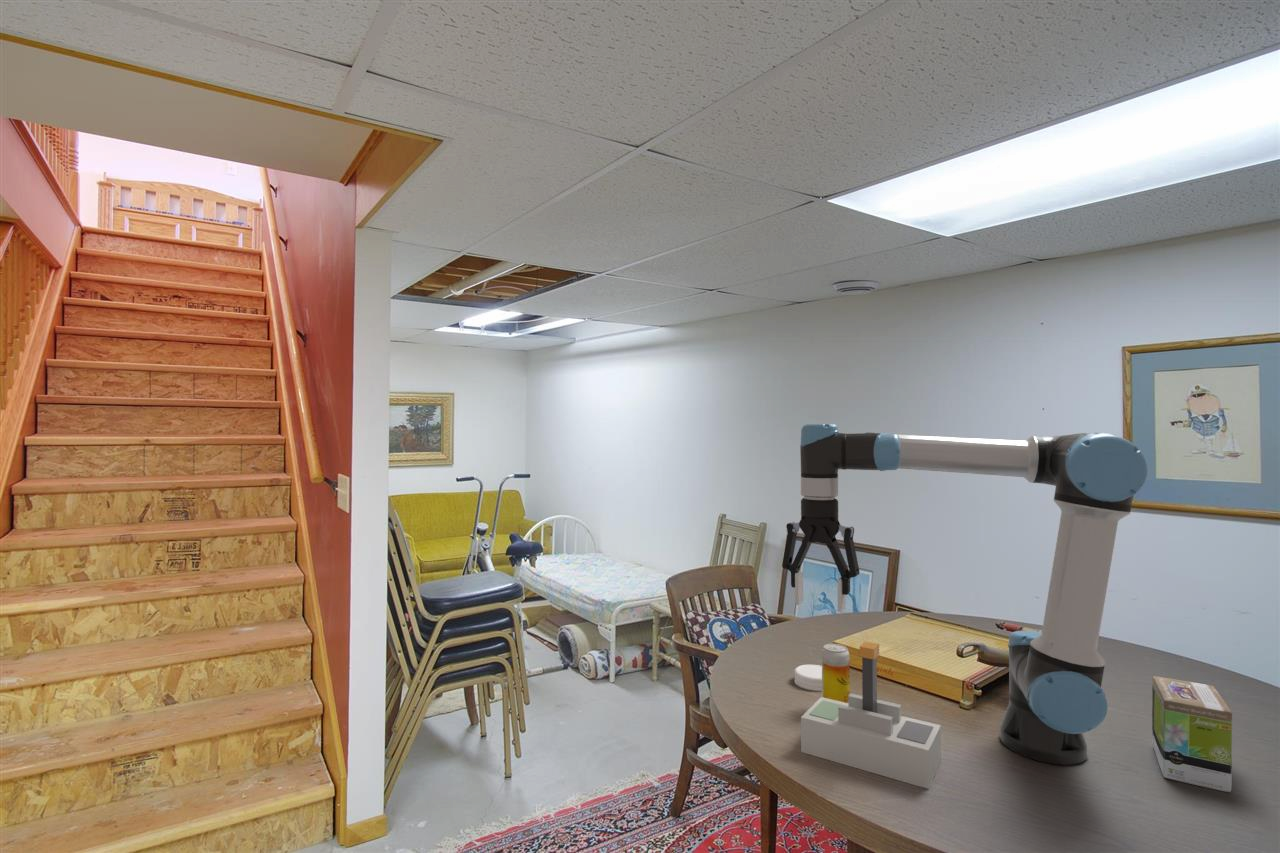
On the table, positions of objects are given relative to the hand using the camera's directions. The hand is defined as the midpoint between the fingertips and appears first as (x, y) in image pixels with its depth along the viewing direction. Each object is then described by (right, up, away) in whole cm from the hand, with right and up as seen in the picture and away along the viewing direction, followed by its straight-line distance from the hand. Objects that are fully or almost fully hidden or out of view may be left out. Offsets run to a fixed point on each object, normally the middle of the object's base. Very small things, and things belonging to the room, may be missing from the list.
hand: (820, 606), depth 134 cm
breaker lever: (+8, -21, -6) cm, 23 cm away
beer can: (+8, -29, +14) cm, 33 cm away
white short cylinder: (+7, -29, +31) cm, 43 cm away
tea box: (+68, -28, -11) cm, 74 cm away
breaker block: (+8, -28, -6) cm, 30 cm away
